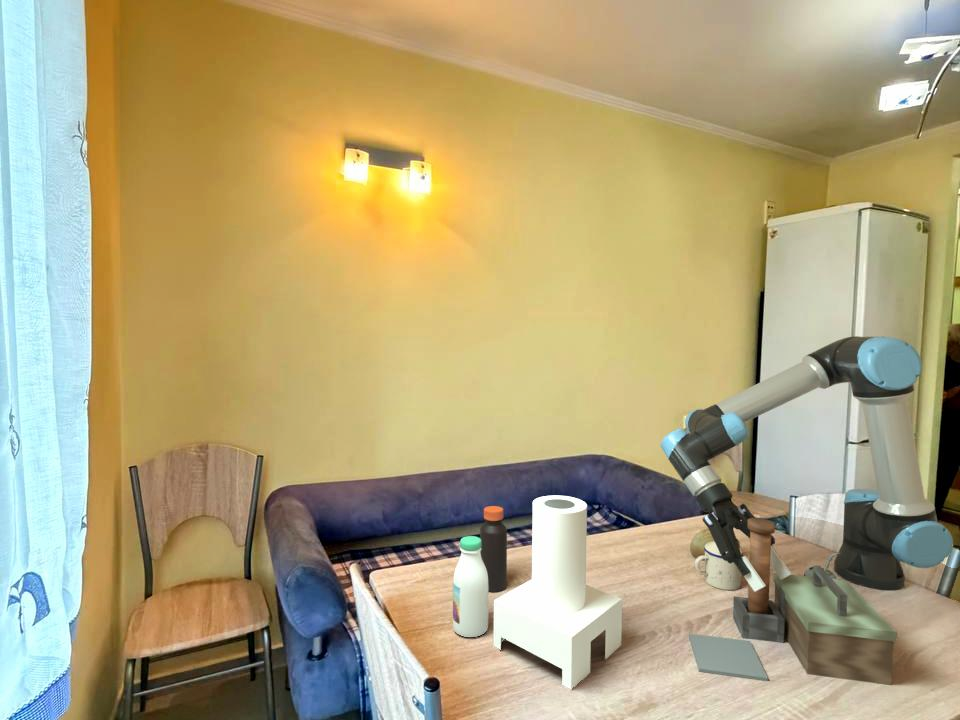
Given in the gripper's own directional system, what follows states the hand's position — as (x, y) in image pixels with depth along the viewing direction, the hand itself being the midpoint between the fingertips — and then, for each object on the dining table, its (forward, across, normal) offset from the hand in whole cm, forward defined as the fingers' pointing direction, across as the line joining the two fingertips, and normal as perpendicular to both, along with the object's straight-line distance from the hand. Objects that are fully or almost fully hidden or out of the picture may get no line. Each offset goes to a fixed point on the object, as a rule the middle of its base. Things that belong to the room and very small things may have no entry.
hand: (773, 582), depth 112 cm
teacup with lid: (-6, -12, -23) cm, 27 cm away
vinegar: (-27, +38, -44) cm, 64 cm away
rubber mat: (+8, +15, -9) cm, 19 cm away
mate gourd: (+8, -23, -9) cm, 26 cm away
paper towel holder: (-7, +41, -24) cm, 48 cm away
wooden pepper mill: (+6, 0, -11) cm, 12 cm away
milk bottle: (-17, +53, -34) cm, 65 cm away
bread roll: (-13, -26, -30) cm, 42 cm away
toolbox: (+12, -3, -5) cm, 13 cm away
